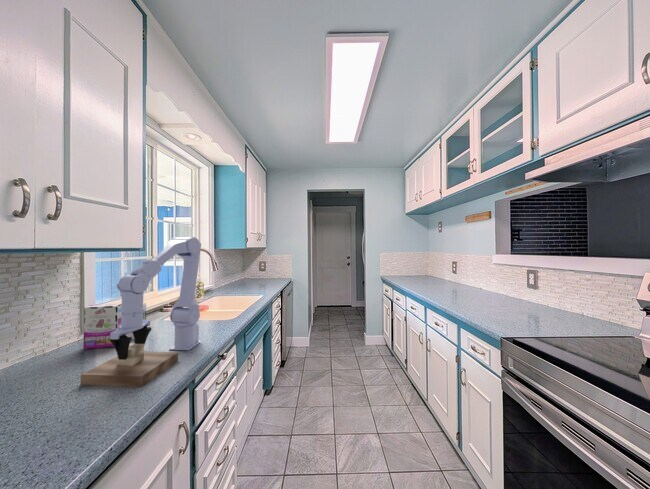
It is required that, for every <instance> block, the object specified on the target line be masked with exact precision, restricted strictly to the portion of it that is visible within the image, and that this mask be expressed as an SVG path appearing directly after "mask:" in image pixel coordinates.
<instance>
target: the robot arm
mask: <svg viewBox="0 0 650 489" xmlns="http://www.w3.org/2000/svg"><path fill="white" fill-rule="evenodd" d="M201 247H202V243H201V242H200V240H199V239H198V237H196V236H194V237H193V236H192V237H191V236H190V237H189V236H188V237H187V236H186V237H185V236H184V237H179V236H174V237H172V238H171V239H170V240H168V242H167V245H166V246H165V247H163V249H161V251H160V252H159V253H158V254H157V255H156V256H155V257H154V258H153V259H152V258H151V259H150V258H148V259H144V260H143V261H142V263H141V264H140V265H139V266H138V267H136V269H133V270H132V271H131V272H130V273H129V274H126V275H123V276H122V277H121V278H120V279H119V281H118V283H117V284H116V289H117V290H118V291H119V293H120V297H121V304H122V307H121V325H120V326H118V329H117V330H115V331H114V332H111V334H110V341H111V343H112V344H113V345H114V347H113V348H115V351H116V355H117V354H118V358H119V359H120V360H125V359H127V356H128V348H129V344H131V341H132V340H134V344H144V346H145V345H146V340H147V339H148V337H149V334H150V332H151V331H152V327H150V326H151V319H146V320H143V303H144V295H145V294H144V293H145V291H147V289H148V287H149V284H150V283H151V280H153V279H154V278H155V277H156V276H157V275H158V274H159V273H160V272H162V266H163V265H164V264H166V263H167V262H168V261H169V260H170V259H172V258H173V257H175V256H178V257H180V258H182V260H183V261H184V263H183V271H182V277H181V284H180V292H179V299H178V300H177V301H175V303H173V306H172V309H171V311H170V315H169V319H170V321H171V322H172V325H173V326H174V345H173V346H171V347H170V348H168V350H169V351H190V350H191V349H193V348H194V347H196V346H197V345H199V344H200V343H201V342H202V341H201V340H199V339H200V338H199V334H200V333H199V332H200V329H199V328H200V327H199V325H198V322H199V320H200V317H201V315H200V313H201V312H200V304H199V303H197V301H196V300H195V297H196V296H195V294H196V288H197V280H198V272H199V266H200V265H199V264H200V254H201ZM131 332H132V333H133V335H134V339H132V337H127V336H126V334H129V333H131Z"/></svg>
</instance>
